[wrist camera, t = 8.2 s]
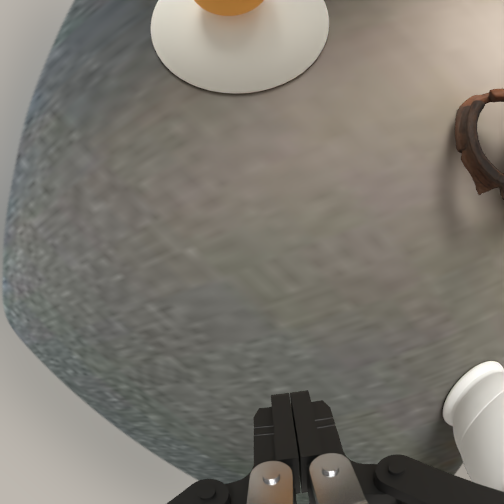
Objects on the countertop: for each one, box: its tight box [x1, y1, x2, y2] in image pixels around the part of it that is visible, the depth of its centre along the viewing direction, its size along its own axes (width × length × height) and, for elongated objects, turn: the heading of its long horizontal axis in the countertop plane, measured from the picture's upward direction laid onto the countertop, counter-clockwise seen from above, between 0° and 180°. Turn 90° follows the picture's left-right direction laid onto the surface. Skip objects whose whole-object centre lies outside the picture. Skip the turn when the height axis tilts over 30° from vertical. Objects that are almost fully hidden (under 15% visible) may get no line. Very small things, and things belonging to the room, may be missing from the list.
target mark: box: [151, 0, 329, 94], centre depth 18 cm, size 13×13×1 cm
